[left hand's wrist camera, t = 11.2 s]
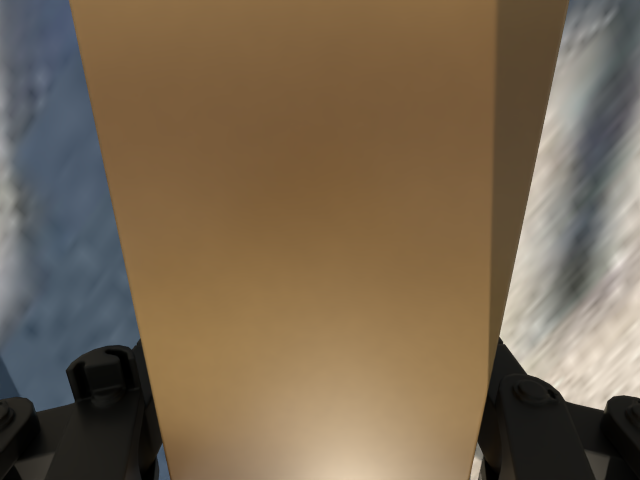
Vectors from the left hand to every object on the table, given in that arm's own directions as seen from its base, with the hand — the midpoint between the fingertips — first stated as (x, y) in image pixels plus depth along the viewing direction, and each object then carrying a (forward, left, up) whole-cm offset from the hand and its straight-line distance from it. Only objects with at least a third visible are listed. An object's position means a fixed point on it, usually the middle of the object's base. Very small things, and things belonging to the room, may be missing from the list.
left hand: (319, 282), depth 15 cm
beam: (+16, +12, 0) cm, 20 cm away
